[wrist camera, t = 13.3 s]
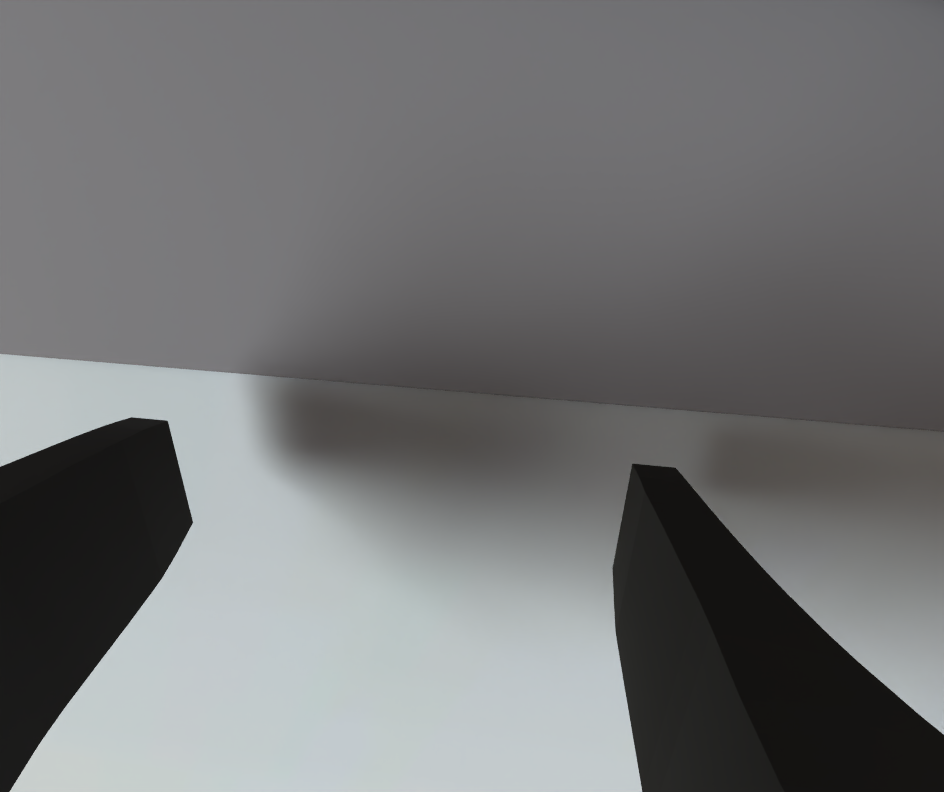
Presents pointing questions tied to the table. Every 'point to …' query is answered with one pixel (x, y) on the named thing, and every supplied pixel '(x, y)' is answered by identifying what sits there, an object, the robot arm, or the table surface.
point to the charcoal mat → (487, 196)
